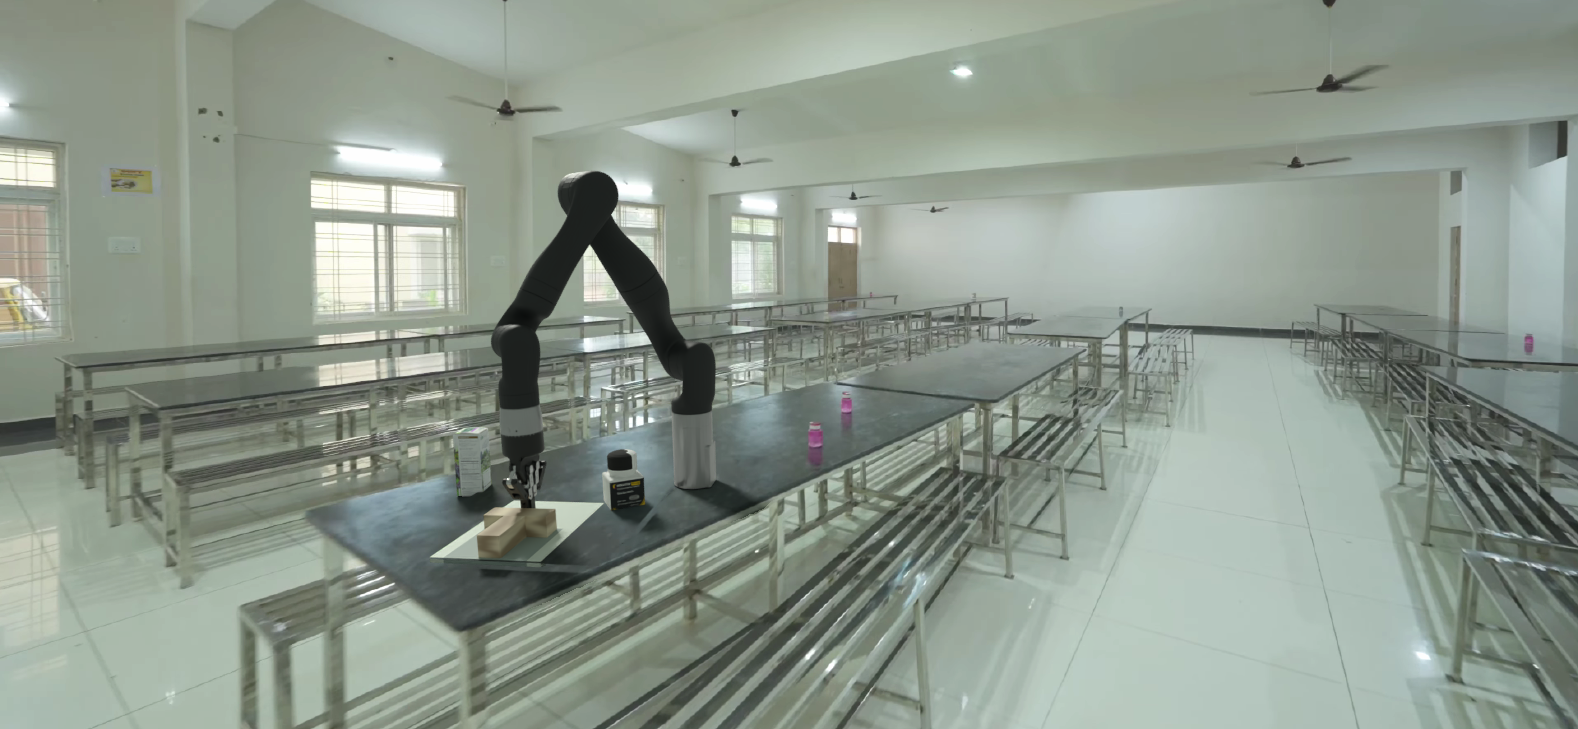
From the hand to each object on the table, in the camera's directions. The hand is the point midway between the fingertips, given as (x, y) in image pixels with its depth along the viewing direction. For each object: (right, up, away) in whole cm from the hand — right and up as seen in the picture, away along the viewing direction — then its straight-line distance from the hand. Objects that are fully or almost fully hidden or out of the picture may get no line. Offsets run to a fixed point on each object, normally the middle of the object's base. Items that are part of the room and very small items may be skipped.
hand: (528, 516), depth 128 cm
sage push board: (0, -3, -1) cm, 3 cm away
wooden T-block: (0, -3, -8) cm, 9 cm away
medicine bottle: (+15, -1, +12) cm, 20 cm away
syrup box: (-21, 0, +22) cm, 30 cm away
